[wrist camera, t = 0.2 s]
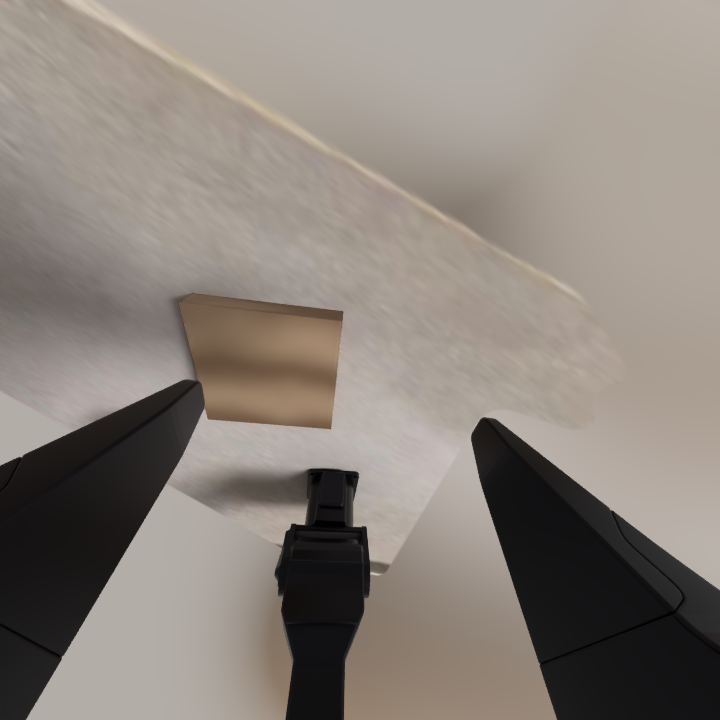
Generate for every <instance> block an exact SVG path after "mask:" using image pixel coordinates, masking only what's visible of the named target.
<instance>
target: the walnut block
mask: <svg viewBox="0 0 720 720" xmlns="http://www.w3.org/2000/svg"><path fill="white" fill-rule="evenodd" d="M178 303H179V307H180V311H181V315H182V319H183V323H184V327H185V331H186V335H187V338H188V342H189V346H190V350H191V354H192V358H193V362H194V366H195V370H196V374H197V378H198V381H199V382H201V384H202V388H203V393H204V399H205V410H206V414H207V418H208V419H211V420H223V421H236V422H249V423H261V424H274V425H286V426H299V427H312V428H324V429H331V424H332V414H333V405H334V396H335V386H336V377H337V367H338V358H339V349H340V339H341V330H342V320H343V311H336V310H327V309H319V308H311V307H302V306H294V305H286V304H277V303H269V302H261V301H252V300H244V299H236V298H227V297H219V296H210V295H202V294H194V293H192V294H191V295H189V296H188V297H186V298H185V299H183V300H181V301H180V302H178Z"/></svg>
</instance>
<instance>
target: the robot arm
mask: <svg viewBox="0 0 720 720" xmlns="http://www.w3.org/2000/svg"><path fill="white" fill-rule="evenodd" d="M204 406H205V399H204V393H203V388H202V384H201V382H199V381H196V380H188V379H187V380H182V381H180V382H178V383H176V384H174V385H172V386H170V387H167V388H165V389H163V390H161V391H159V392H157V393H155V394H152V395H150V396H148V397H146V398H144V399H142V400H140V401H138V402H135V403H133V404H131V405H129V406H127V407H125V408H123V409H120V410H118V411H116V412H114V413H112V414H110V415H108V416H106V417H103V418H101V419H99V420H97V421H95V422H93V423H91V424H88V425H86V426H84V427H82V428H80V429H78V430H76V431H73V432H71V433H69V434H67V435H65V436H63V437H61V438H59V439H57V440H54V441H52V442H50V443H48V444H46V445H44V446H41V447H39V448H37V449H35V450H33V451H31V452H29V453H27V454H25V455H23V457H22V458H21V457H18V458H16V459H14V460H12V461H9V462H7V463H5V464H3V465H1V466H0V720H26V719H27V717H28V715H29V714H30V712H31V710H32V708H33V707H34V705H35V703H36V702H37V700H38V698H39V697H40V695H41V693H42V692H43V690H44V688H45V687H46V685H47V683H48V682H49V680H50V678H51V677H52V675H53V673H54V671H55V670H56V668H57V666H58V665H59V663H60V661H61V659H62V656H63V655H64V654H65V652H66V651H67V649H68V647H69V646H70V644H71V642H72V641H73V639H74V637H75V636H76V634H77V632H78V631H79V629H80V627H81V626H82V624H83V622H84V621H85V619H86V617H87V615H88V614H89V612H90V610H91V609H92V607H93V605H94V604H95V602H96V600H97V599H98V597H99V595H100V594H101V592H102V590H103V588H104V587H105V585H106V583H107V582H108V580H109V578H110V576H111V575H112V573H113V572H114V570H115V568H116V567H117V565H118V563H119V561H120V560H121V558H122V557H123V555H124V553H125V551H126V550H127V548H128V547H129V544H130V543H131V541H132V540H133V538H134V536H135V535H136V533H137V531H138V530H139V528H140V526H141V525H142V523H143V521H144V519H145V518H146V516H147V515H148V513H149V511H150V510H151V508H152V506H153V504H154V503H155V501H156V499H157V498H158V496H159V494H160V493H161V491H162V489H163V488H164V486H165V484H166V483H167V481H168V479H169V478H170V476H171V474H172V472H173V471H174V469H175V467H176V466H177V464H178V462H179V461H180V459H181V457H182V455H183V453H184V451H185V449H186V447H187V445H188V443H189V440H190V438H191V436H192V434H193V432H194V429H195V427H196V425H197V423H198V421H199V418H200V416H201V414H202V412H203V409H204ZM471 441H472V446H473V450H474V455H475V460H476V464H477V469H478V474H479V478H480V482H481V485H482V489H483V492H484V495H485V498H486V502H487V504H488V508H489V511H490V514H491V517H492V520H493V523H494V526H495V529H496V532H497V535H498V538H499V542H500V545H501V547H502V551H503V554H504V557H505V560H506V563H507V566H508V569H509V572H510V575H511V578H512V581H513V585H514V588H515V591H516V594H517V597H518V600H519V603H520V606H521V609H522V612H523V615H524V618H525V621H526V625H527V628H528V631H529V634H530V637H531V640H532V643H533V646H534V649H535V652H536V655H537V659H538V662H539V663H540V668H541V671H542V675H543V678H544V681H545V684H546V687H547V690H548V693H549V696H550V699H551V702H552V705H553V708H554V711H555V714H556V718H557V720H720V590H719V589H717V588H716V587H714V586H713V585H712V584H710V583H709V582H708V581H706V580H705V579H703V578H702V577H701V576H699V575H698V574H696V573H695V572H694V571H692V570H691V569H690V568H688V567H687V566H685V565H684V564H683V563H681V562H680V561H679V560H677V559H676V558H674V557H673V556H672V555H670V554H669V553H668V552H666V551H665V550H663V549H662V548H661V547H659V546H658V545H657V544H655V543H654V542H653V541H651V540H650V539H649V538H647V537H646V536H645V535H643V534H642V533H641V532H640V531H638V530H637V529H635V528H634V527H633V526H632V525H630V524H629V523H628V522H626V521H625V520H624V519H623V518H621V517H620V516H619V515H617V514H616V513H615V512H614V511H612V510H610V509H609V507H607V506H606V505H605V504H604V503H602V502H601V501H599V500H598V499H597V498H596V497H595V496H593V495H592V494H591V493H589V492H588V491H587V490H586V489H584V488H583V487H582V486H580V485H579V484H578V483H577V482H575V481H574V480H573V479H572V478H570V477H569V476H568V475H566V474H565V473H564V472H563V471H561V470H560V469H559V468H557V467H556V466H555V465H554V464H552V463H551V462H550V461H549V460H547V459H546V458H545V457H543V456H542V455H541V454H540V453H538V452H537V451H536V450H535V449H533V448H532V447H531V446H529V445H528V444H527V443H526V442H524V441H523V440H522V439H521V438H519V437H518V436H517V435H515V434H514V433H513V432H512V431H510V430H509V429H508V428H506V427H505V426H504V425H503V424H501V423H500V422H499V421H498V420H496V419H493V418H486V417H484V418H482V419H480V421H479V422H478V424H477V426H476V427H475V429H474V431H473V433H472V435H471ZM358 479H359V473H358V472H351V471H336V470H321V469H310V470H309V472H308V488H307V498H308V499H309V500H308V507H307V514H306V521H305V525H296V524H291V528H290V530H288V531H286V534H285V539H284V544H283V548H282V551H281V554H280V557H279V561H278V563H277V566H276V570H275V577H276V579H277V581H278V587H279V589H278V596H279V597H283V602H282V609H281V612H282V619H283V628H284V632H285V636H286V640H287V644H288V648H289V652H290V656H291V659H292V663H293V667H292V675H291V682H290V690H289V697H288V705H287V712H286V720H344V679H345V660H346V658H347V655H348V653H349V650H350V648H351V645H352V643H353V640H354V638H355V635H356V633H357V630H358V628H359V625H360V622H361V619H362V616H363V613H364V598H368V597H369V590H370V560H369V549H368V538H367V528H366V526H362V527H353V501H354V497H355V492H356V488H357V483H358Z"/></svg>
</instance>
